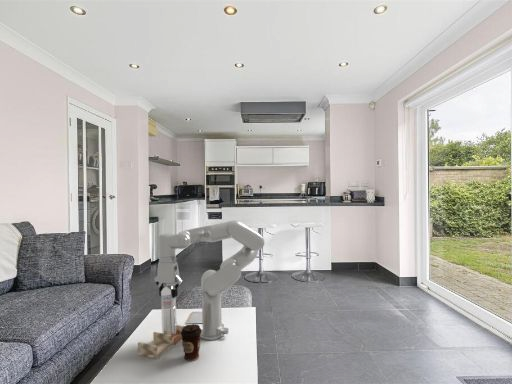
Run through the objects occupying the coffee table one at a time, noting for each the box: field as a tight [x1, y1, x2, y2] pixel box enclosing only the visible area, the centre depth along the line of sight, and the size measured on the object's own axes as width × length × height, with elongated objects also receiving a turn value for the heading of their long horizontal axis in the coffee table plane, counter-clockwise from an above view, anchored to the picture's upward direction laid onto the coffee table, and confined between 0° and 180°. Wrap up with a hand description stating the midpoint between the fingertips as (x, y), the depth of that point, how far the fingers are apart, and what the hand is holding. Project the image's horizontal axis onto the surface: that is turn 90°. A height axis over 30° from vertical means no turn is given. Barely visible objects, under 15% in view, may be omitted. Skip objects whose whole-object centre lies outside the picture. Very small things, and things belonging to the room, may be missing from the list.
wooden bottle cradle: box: [137, 324, 185, 360], centre depth 134 cm, size 11×20×5 cm, turn 158°
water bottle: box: [160, 283, 178, 335], centre depth 139 cm, size 7×7×25 cm
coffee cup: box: [181, 323, 202, 362], centre depth 124 cm, size 9×8×13 cm
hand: (168, 295), depth 139 cm, fingers closed on water bottle, 6 cm apart
